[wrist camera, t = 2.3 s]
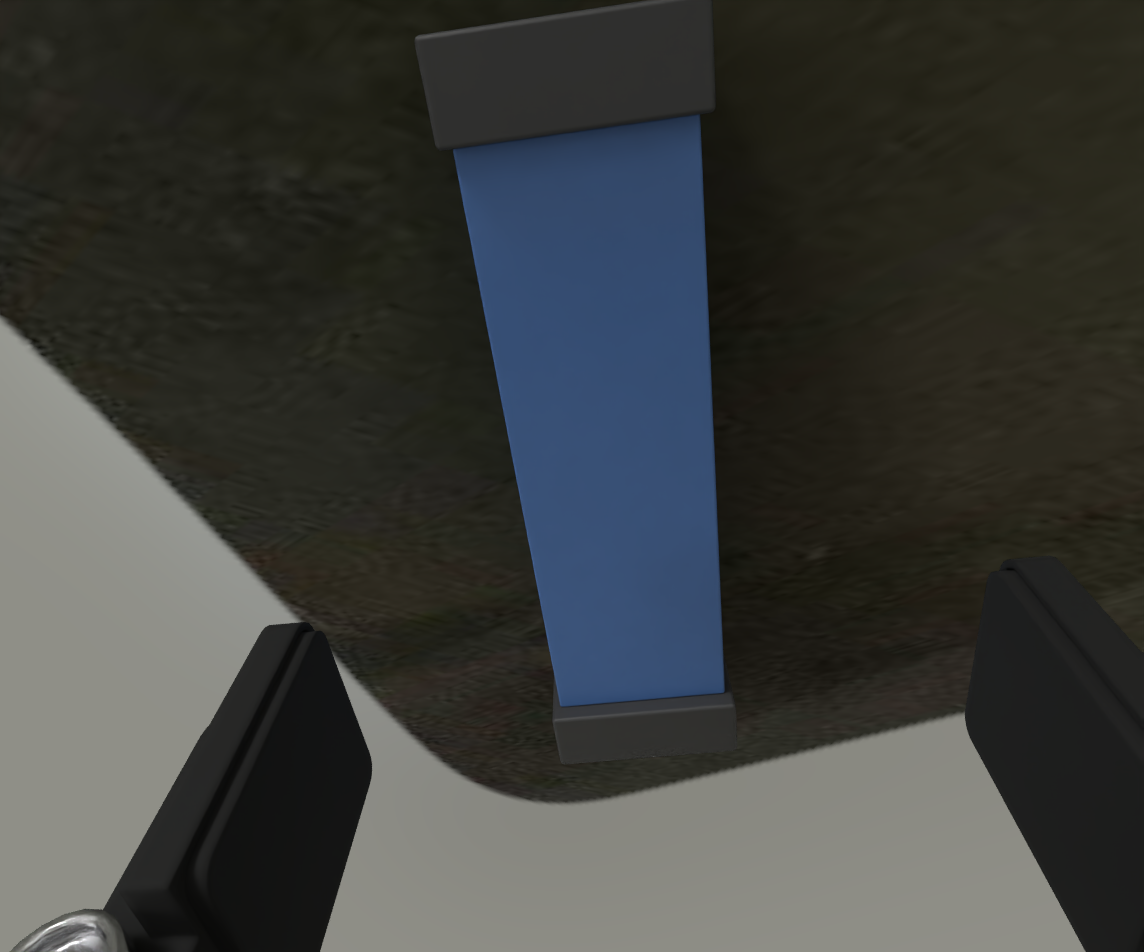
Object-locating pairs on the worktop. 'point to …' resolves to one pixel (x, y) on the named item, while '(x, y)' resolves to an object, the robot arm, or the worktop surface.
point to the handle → (602, 349)
